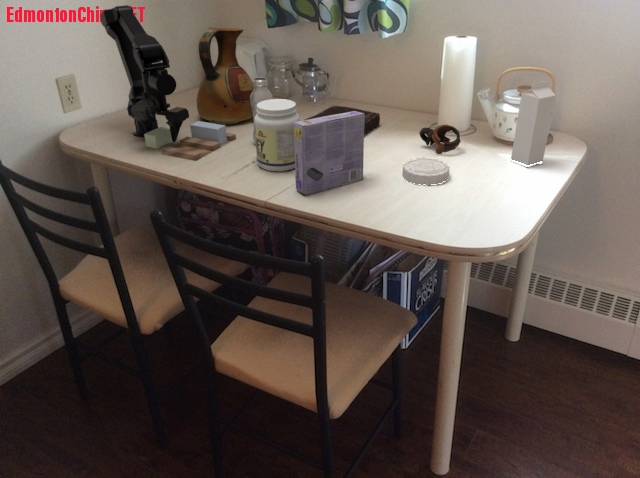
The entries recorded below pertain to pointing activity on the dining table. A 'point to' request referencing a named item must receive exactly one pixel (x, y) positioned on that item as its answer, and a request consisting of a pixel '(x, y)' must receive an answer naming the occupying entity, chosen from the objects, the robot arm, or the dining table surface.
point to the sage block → (158, 137)
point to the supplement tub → (275, 134)
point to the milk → (533, 124)
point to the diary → (370, 117)
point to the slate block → (209, 131)
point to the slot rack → (195, 147)
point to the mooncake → (425, 171)
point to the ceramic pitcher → (223, 80)
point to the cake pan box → (329, 151)
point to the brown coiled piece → (440, 138)
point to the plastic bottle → (259, 97)
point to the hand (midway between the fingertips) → (162, 139)
